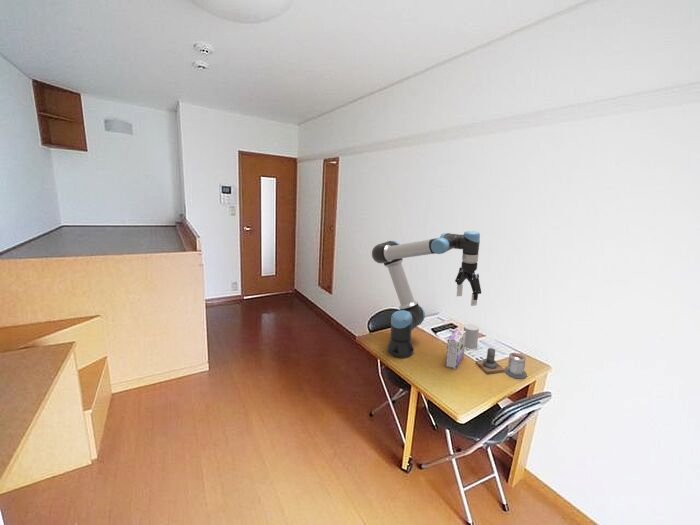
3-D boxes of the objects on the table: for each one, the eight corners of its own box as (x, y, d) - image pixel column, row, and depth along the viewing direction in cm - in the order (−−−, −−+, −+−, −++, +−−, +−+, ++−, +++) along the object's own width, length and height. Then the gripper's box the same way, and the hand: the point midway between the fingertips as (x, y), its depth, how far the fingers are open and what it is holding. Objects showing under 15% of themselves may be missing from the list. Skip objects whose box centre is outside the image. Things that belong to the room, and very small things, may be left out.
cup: (470, 340, 189) (472, 323, 186) (479, 347, 182) (481, 328, 179) (459, 343, 187) (461, 325, 184) (468, 349, 180) (470, 331, 176)
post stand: (475, 363, 166) (477, 346, 163) (491, 361, 168) (493, 344, 165) (486, 374, 156) (489, 356, 154) (504, 371, 158) (506, 353, 156)
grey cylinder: (510, 365, 162) (512, 350, 160) (525, 371, 157) (528, 355, 155) (504, 371, 158) (507, 355, 155) (520, 377, 152) (522, 361, 150)
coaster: (500, 368, 161) (500, 367, 161) (516, 366, 163) (517, 364, 163) (513, 380, 152) (513, 378, 152) (531, 377, 154) (531, 376, 153)
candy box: (453, 354, 175) (455, 328, 171) (463, 357, 171) (466, 331, 167) (445, 366, 164) (447, 338, 160) (456, 369, 161) (458, 341, 156)
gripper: (450, 256, 167) (447, 293, 173) (477, 268, 144) (473, 310, 149) (462, 255, 169) (459, 291, 174) (491, 267, 145) (487, 309, 151)
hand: (466, 300), depth 162 cm, fingers open, 13 cm apart
